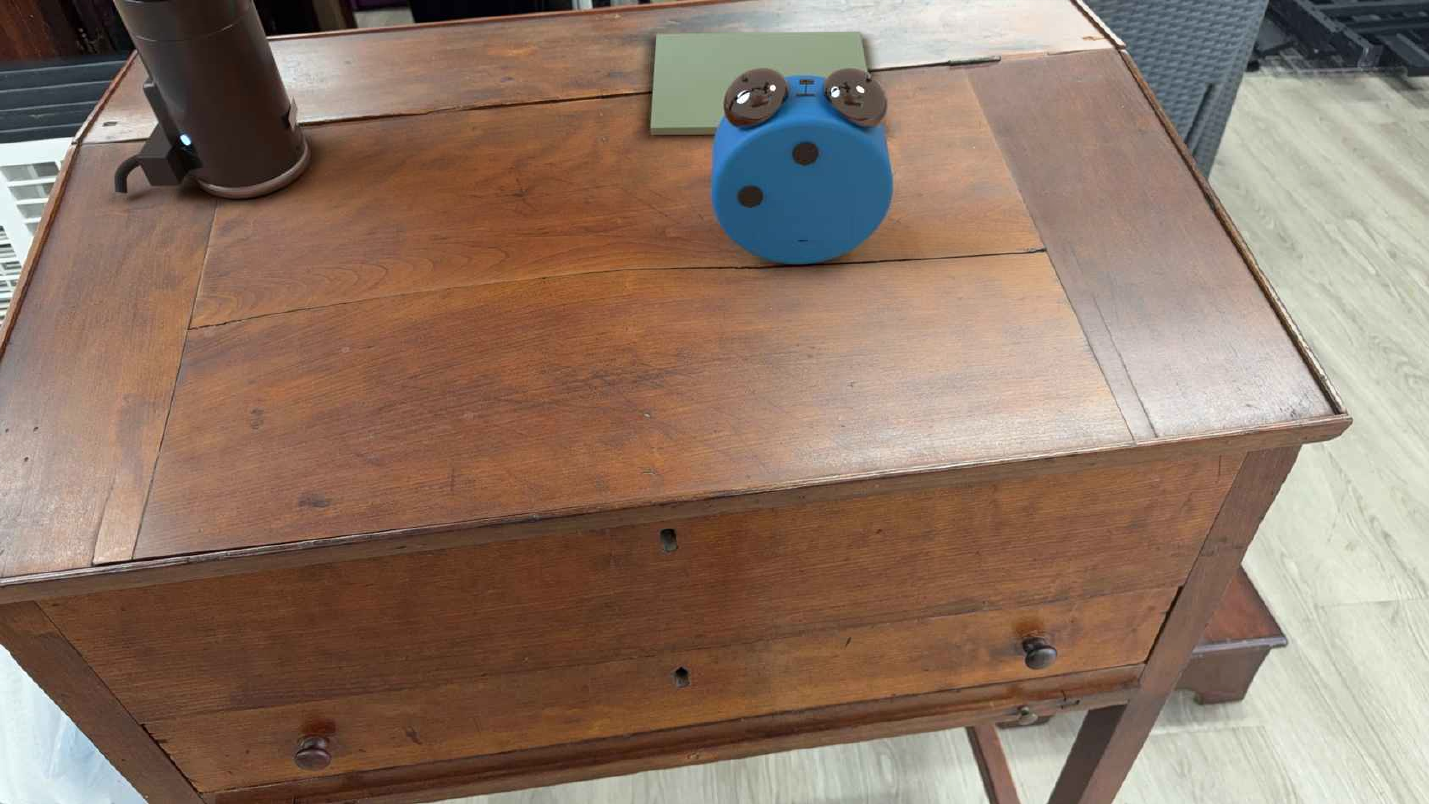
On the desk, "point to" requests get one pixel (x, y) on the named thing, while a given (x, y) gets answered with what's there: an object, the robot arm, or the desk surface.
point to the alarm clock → (801, 164)
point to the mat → (734, 70)
